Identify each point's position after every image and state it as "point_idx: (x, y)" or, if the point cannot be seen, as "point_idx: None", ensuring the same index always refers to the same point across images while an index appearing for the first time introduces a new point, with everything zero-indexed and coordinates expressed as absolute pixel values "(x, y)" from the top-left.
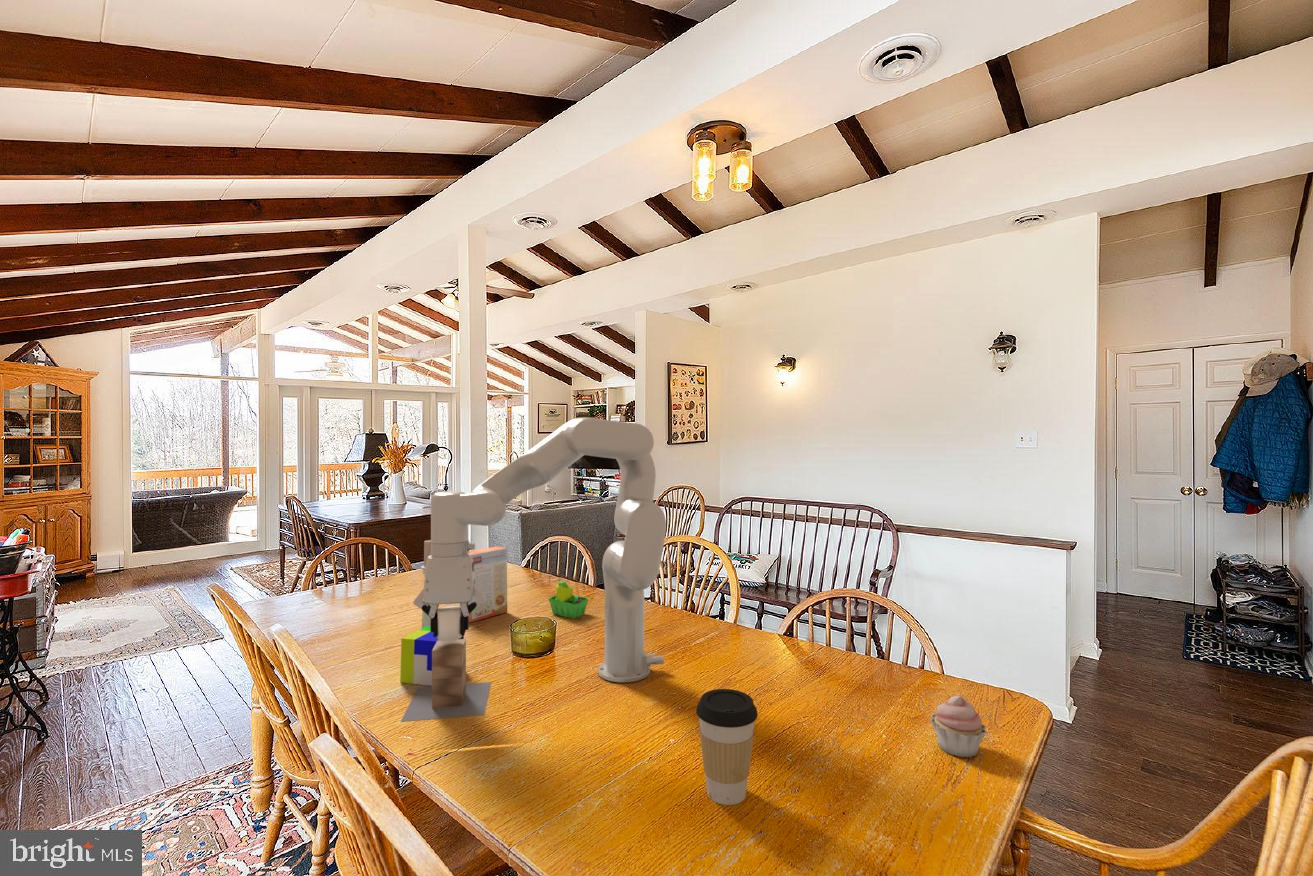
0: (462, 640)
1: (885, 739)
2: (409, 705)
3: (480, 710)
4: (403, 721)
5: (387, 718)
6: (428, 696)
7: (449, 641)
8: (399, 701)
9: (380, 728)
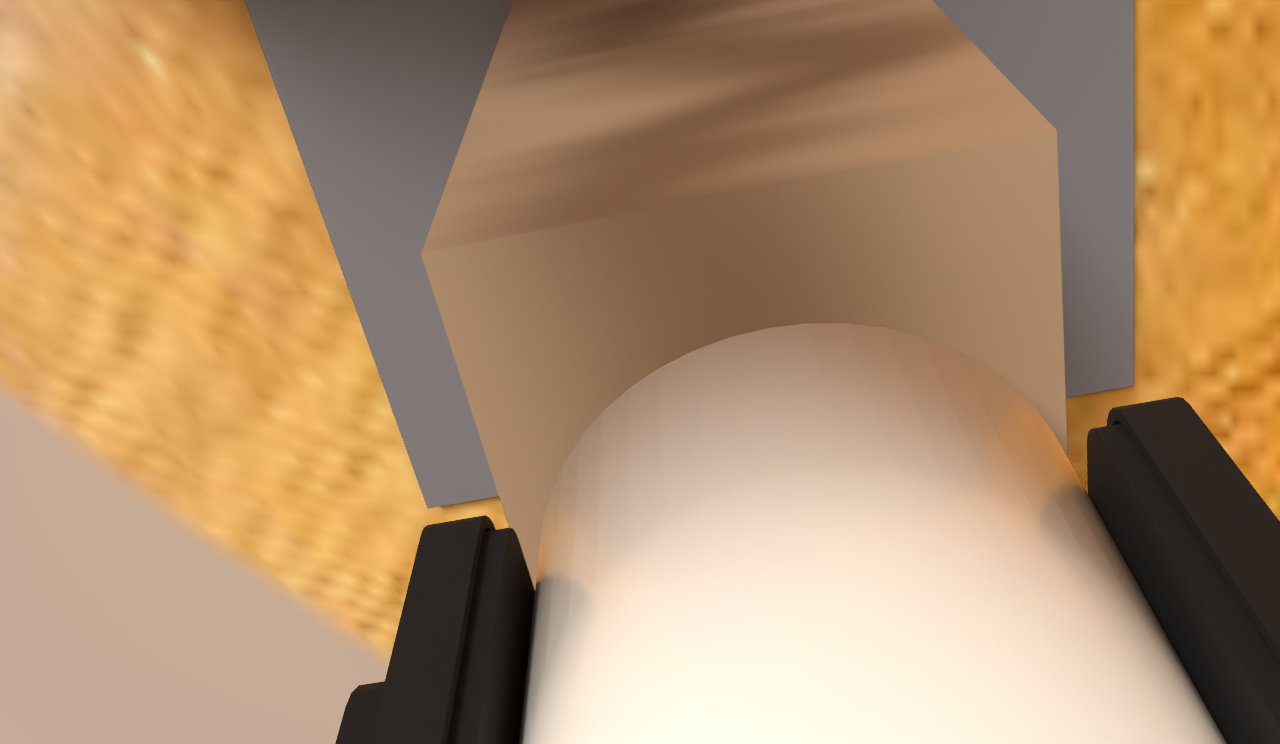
0: (996, 235)
1: None
2: (335, 231)
3: (1089, 310)
4: (450, 504)
5: (259, 419)
6: (430, 19)
7: (718, 297)
8: (147, 91)
9: (307, 559)
